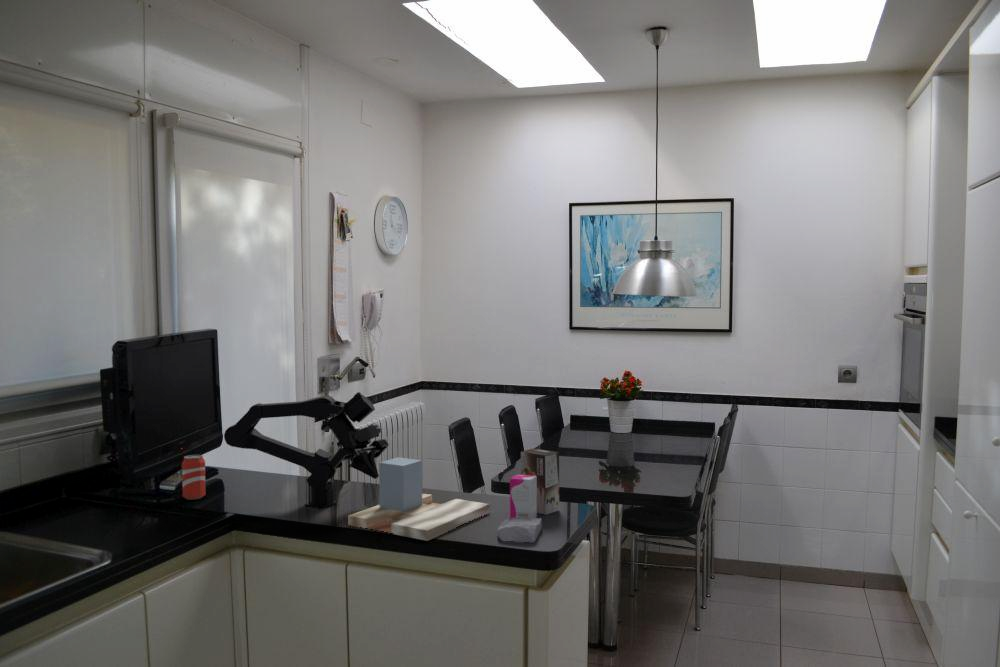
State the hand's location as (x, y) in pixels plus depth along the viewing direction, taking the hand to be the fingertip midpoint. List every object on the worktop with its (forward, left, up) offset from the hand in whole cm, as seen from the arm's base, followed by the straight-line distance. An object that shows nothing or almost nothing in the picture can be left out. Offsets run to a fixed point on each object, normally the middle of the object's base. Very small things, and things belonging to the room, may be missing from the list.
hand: (376, 477), depth 216 cm
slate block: (+8, 0, -7) cm, 11 cm away
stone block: (+43, +1, -10) cm, 45 cm away
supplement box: (+38, +13, -9) cm, 41 cm away
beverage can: (-55, -16, -9) cm, 58 cm away
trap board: (+15, 0, -9) cm, 17 cm away
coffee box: (+37, +24, -9) cm, 45 cm away
